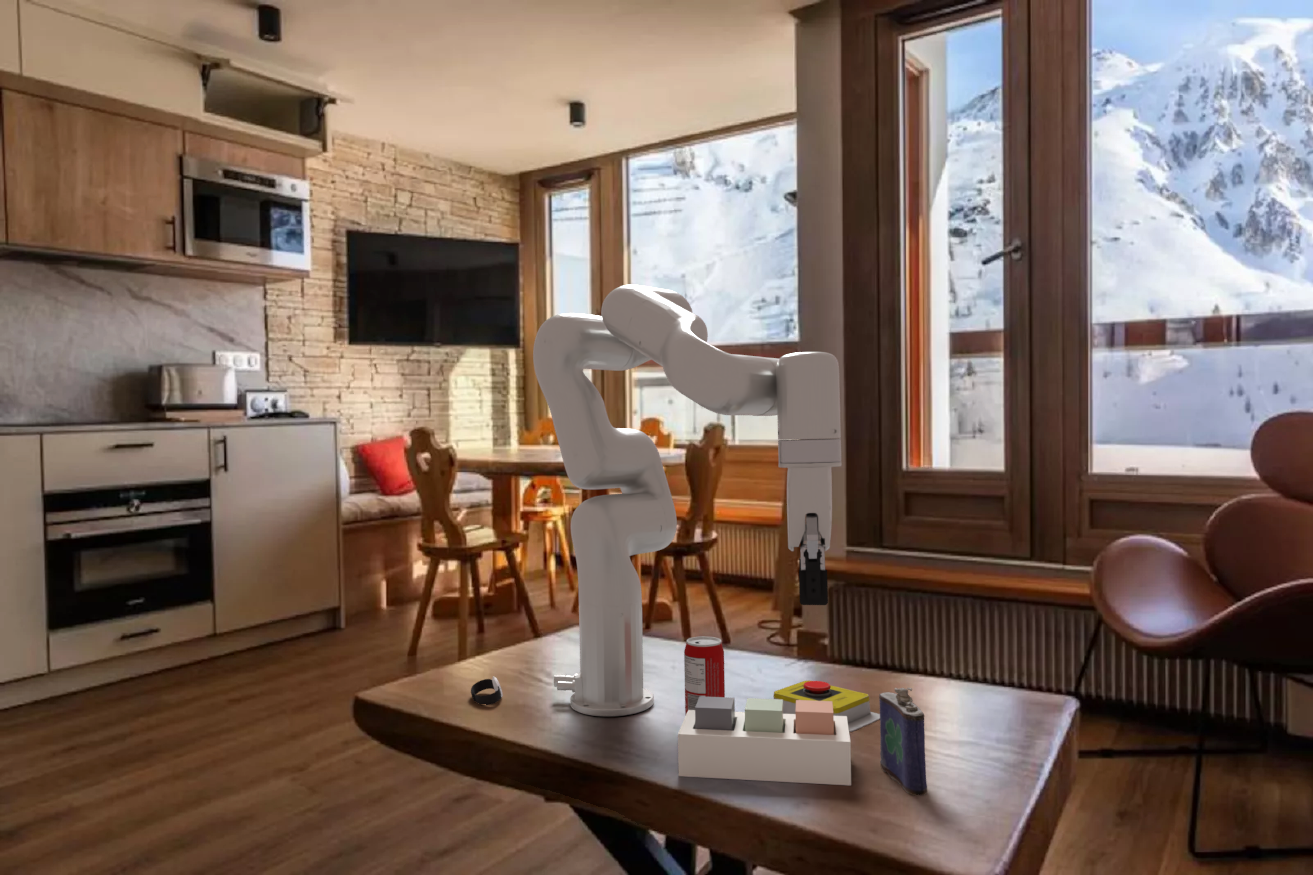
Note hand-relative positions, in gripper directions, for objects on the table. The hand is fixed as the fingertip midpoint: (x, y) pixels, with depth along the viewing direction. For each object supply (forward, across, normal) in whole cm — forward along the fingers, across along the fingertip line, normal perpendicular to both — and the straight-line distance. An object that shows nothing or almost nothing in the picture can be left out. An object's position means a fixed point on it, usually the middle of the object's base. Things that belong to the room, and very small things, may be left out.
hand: (813, 596), depth 102 cm
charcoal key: (+17, 0, -12) cm, 21 cm away
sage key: (+17, 0, -6) cm, 18 cm away
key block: (+21, 0, -6) cm, 22 cm away
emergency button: (+21, -21, +1) cm, 30 cm away
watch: (+21, -21, -50) cm, 58 cm away
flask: (+21, +2, +10) cm, 23 cm away
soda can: (+21, -14, -15) cm, 29 cm away
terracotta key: (+17, 0, 0) cm, 17 cm away
